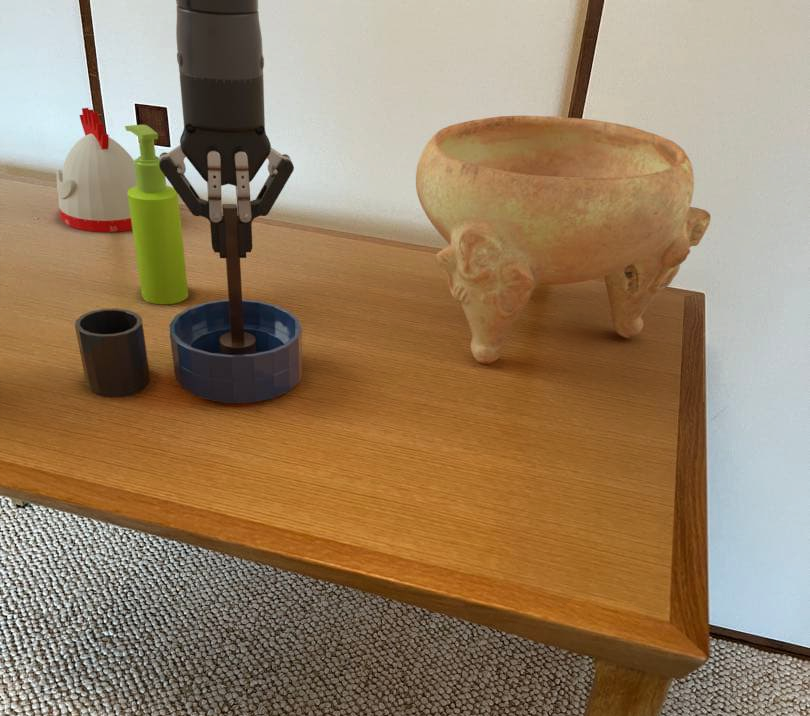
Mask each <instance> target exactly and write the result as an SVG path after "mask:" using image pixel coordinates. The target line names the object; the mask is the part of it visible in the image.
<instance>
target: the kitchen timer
mask: <svg viewBox="0 0 810 716" xmlns="http://www.w3.org/2000/svg"><path fill="white" fill-rule="evenodd" d="M81 113H82V114H79V120H80V123H81V126H82V129H83V130H82V131H83V133H84V136H83V137H81V138H80V139H79V140H78V141H76V142H75V144H74V145H73V146H72V147H71V148H70V150H69V152H68V153H67V155H66V158H65V160H64V162H63V166H62V170H60V169H56V170H55V172H56V174H55V175H56V191H57V195H58V209H59V214H60V218H61V219H60V220H61V221H62V222H63V223H64V224H65V225H67V226H68V227H71V228H73V229H77V230H81V231H86V232H94V233H96V232H97V233H115V232H124V231H125V232H126V231H133V229H132V222H131V215H130V208H129V201H128V194H127V192H128V190H129V189H130V188H133V187H135V186H137V180H136V173H135V165H134V160H135V159H134V158H133V157H132V156H131V155H130V153H129V152H128V151H127V150H126V149H125V148H124V147H123V146H122V145H121V144H119V143H118V142H117V141H116V140H115V139H113V138H111V136H110V135H109V133H106V134H105V129H104V122H100V119H99V114H98V111H94V108H93V109H89V107H82V108H81Z"/></svg>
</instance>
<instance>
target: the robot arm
mask: <svg viewBox="0 0 810 716" xmlns="http://www.w3.org/2000/svg"><path fill="white" fill-rule="evenodd" d="M175 2H176V28H175V33H176V34H175V35H176V36H175V37H176V50H177V51H176V52H177V53H176V60H177V64H178V73H179V83H180V96H181V109H182V117H183V131H182V134H181V135H180V138H179V145H178V146H176V147H175V148H174V149H172V150H171V151H169V152H167V151H166V152H161V153H160V154H159V156H158V157H159V166H160V169H161V171H162V172H163V174H164V175H165V178H166V180H167V181H169V183H170V185H171V187H172V188H174V189H175V190H176V192H177V193H178V197H180V199H181V200H182V202H183V203H184V204H185V206H186V207H187V209H188V210H189V211H190V213H191V214H192V215H193V216H194V217H202V218H205V219H206V220H208V222H209V227H210V239H211V240H210V241H211V248H212V250H213V252H214V253H218V255H219V259H226V258H227V252H226V236H225V222H224V219H223V208H222V186H226V185H230V186H235V187H234V188H235V195H236V205H237V212H238V239H239V257H240V259H246V258H247V253H252V250H253V228H252V227H253V221H254V219H256V218H259V217H266V216H268V214H269V213H270V212H271V210H272V208H273V206H274V205H275V203H276V201H277V200H278V198H279V196H280V195H281V193H282V191H283V189H284V187H285V186H286V184H287V182H288V181H289V179H290V177H291V175H292V174H293V172H294V170H295V167H294V163H293V161H292V158H291V157H290V156H289V155H288V154H285V153H283V154H281V152H279V151H277V150H276V149H275V148H273V147H272V145H271V142H270V138H269V137H268V136H267V133H266V121H265V117H266V116H265V90H264V89H265V88H264V86H265V84H264V68H265V58H264V55H263V37H262V29H261V23H260V15H259V0H175ZM185 158H186V159H187V161H189V163H190V164H191V165H192V166H193V168H194V169H195V170H196V172H197V173H198V174H199V175H200V177H201V178H202V179H203V180H204V181H205V182H206V188H207V189H206V190H207V200H206V199H203V198H201V197H200V196H199V194H198V193H197V191H196V189H195V188H194V187H193V186H192V184H191V182H190V181H189V180H188V178H187V176H186V175H185V173H186V170H187V166H186V163H185V161H184V160H185ZM266 160H268V162H267V163H268V164H267V170H268V173H269V175H268V177H267V178H266V180H265V182H264V183H263V186H262V187H261V189H260V190H259V193H258V194H257V196H256V198H255V199H253V200H251V188H250V183H251V182H252V181H253V179H254V178H255V177H256V175H257V174H258V172H259V171H260V170H261V167H262V166H263V165H264V163H265V162H266Z"/></svg>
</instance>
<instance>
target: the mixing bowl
mask: <svg viewBox="0 0 810 716" xmlns="http://www.w3.org/2000/svg"><path fill="white" fill-rule="evenodd" d="M242 305H243V324H244V332H246V333H249V334H252V335H253V336H254V337H255V339H256V353H255V354H244V355H226V354H220V341H219V339H220V337H221V336H222V335H224V334H226V333H229V332H231V331H230V316H229V300H228V299H219V300H212V301H207V302H202V303H199V304H196V305H193V306H189V307H187V308H184V310H181V312H179V313H178V314H176V315H174V317H173V318H172V320H171V321H170V323H169V338H170V339H169V340H170V348H171V356H172V364H173V372H174V378H175V380H176V382H177V383H178V384H179V386H180V387H181V388H182V389H183V390H185V391H186V392H188V393H190V394H192V395H193V396H196V397H199V398H202V399H206V400H209V401H213V402H218V403H228V404H229V403H230V404H243V403H247V404H248V403H258V402H261V401H266V400H270V399H274V398H277V397H279V396H281V395H284V394H286V393H287V392H289V391H291V390H292V389H293V388H294V387H295V386H296V385H298V383H299V382H300V381H301V378H302V375H303V327H302V324H301V320H300V319H299V318H298V317H297V316H296V315H295V314H294V313H292V312H291V310H287V309H285V308H283V307H281V306H280V305H276V304H272V303H269V302H265V301H260V300H252V299H244V298H242Z"/></svg>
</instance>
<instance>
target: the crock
mask: <svg viewBox="0 0 810 716" xmlns="http://www.w3.org/2000/svg"><path fill="white" fill-rule="evenodd" d="M74 322H75V323H74V329H75V334H76V340H77V344H78V349H79V354H80V358H81V359H80V360H81V365H82V368H83V369H82V370H83V372H84V378H85V382H86V385H87V388H88V389H89V390H90V391H91V392H92V393H93V394H96V395H98V396H102V397H108V398H109V397H110V398H119V397H128V396H131V395H136V394H137V393H141V392H143V391H144V390H145V389H147V387H149V385H150V384H151V371H150V366H149V359H148V352H147V351H148V350H147V343H146V338H145V337H146V336H145V330H144V322H143V317H141V315H139V314H138V313H137V312H135V311H131V310H129V309H123V308H116V307H115V308H100V309H95V310H91V311H89V312H86V313H83V314H81V315H80V316H79V317H78V318H76V320H75V321H74Z"/></svg>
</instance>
